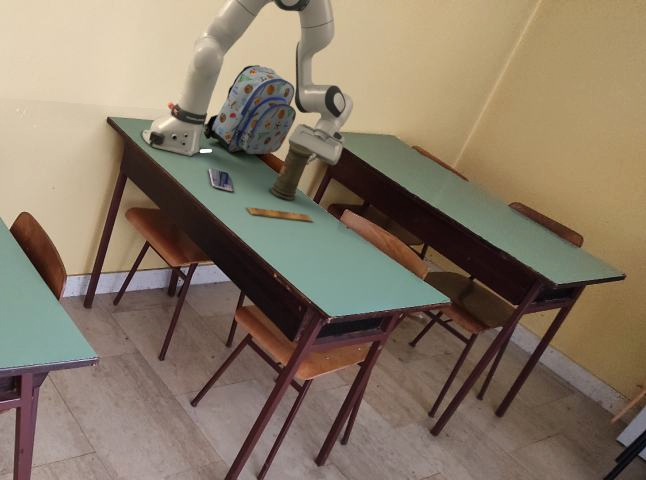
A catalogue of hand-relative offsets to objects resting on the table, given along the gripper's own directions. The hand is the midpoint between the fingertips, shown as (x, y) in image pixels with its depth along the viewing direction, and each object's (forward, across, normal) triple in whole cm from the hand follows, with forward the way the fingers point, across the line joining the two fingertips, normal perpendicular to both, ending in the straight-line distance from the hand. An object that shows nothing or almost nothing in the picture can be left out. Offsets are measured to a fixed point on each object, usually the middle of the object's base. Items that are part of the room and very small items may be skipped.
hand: (304, 162), depth 226 cm
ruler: (+28, +7, -13) cm, 32 cm away
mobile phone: (+26, -18, -12) cm, 34 cm away
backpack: (-2, -30, +17) cm, 35 cm away
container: (+15, 0, 0) cm, 15 cm away
